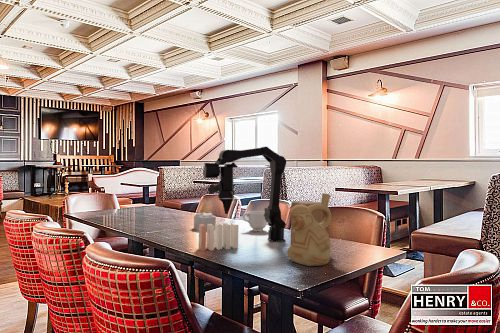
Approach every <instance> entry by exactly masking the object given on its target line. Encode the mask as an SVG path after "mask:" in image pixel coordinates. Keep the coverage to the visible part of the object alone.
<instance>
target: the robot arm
mask: <svg viewBox="0 0 500 333" xmlns="http://www.w3.org/2000/svg"><path fill="white" fill-rule="evenodd" d="M260 156H262V157H263V158H264V159H265V160H266V161H267V162H268V163H269V169H270V172H271V181H270V182H271V183H270V193H269V203H268V206H267V207H264V209H263V211H265V213H264V217H265V220H266V221H267V225H268V228H269V229H268V230H267V231H268V234H267V236H268V237H267V240H269V241H271V242H286V239H285V228H286V225H287V223H286V222H285V221H284V220H283V219H282V210H281V208H280V201H281V200H280V199H281V187H282V176H283V173H284V172H285V170H286V165H287V159H286V158H285V156H282V155H280V154H278V153H276V152H275V151H274V150H272V149H271V148H270V147H268V146H261V147H257V148H256V147H255V148H249V149H242V150H241V149H239V150H237V149H225V150H221V151H220V152H219V154H218V158H217V160H215V162H211V163H210V162H204V165H203V170H202V175H203V178H204V179H217V178H218V177H220V178H219V182H218V183H217V184H214V183H212V184H209V186H208V187H207V191H208V193H209V195H213V194H215V193H217V192H219V193H218V196H217V199H218V200H219V201H220V202H222V206H223V209H224V210H223V211H224V214H225V215H228V214H229V212H230V209H231V206H232V204H233V201H234V198H235V190H234V168H236V169H237V168H238V165H237V164H236V163H235V161H238V160H240V159H244V158H245V159H247V158H252V157H253V158H254V157H260Z"/></svg>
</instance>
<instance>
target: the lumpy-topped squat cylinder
mask: <svg viewBox="0 0 500 333" xmlns="http://www.w3.org/2000/svg"><path fill="white" fill-rule="evenodd" d="M216 217H217V216H216V215H213V213H212V212H207V213H206V212H205V211H204V212H197V213H196V214H194V215H193V229H194V230H196V231H199V224H204V225H205V226H206V232H207V224H212V225H214V231H215V224H217V222H216V220H217V218H216Z"/></svg>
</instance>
